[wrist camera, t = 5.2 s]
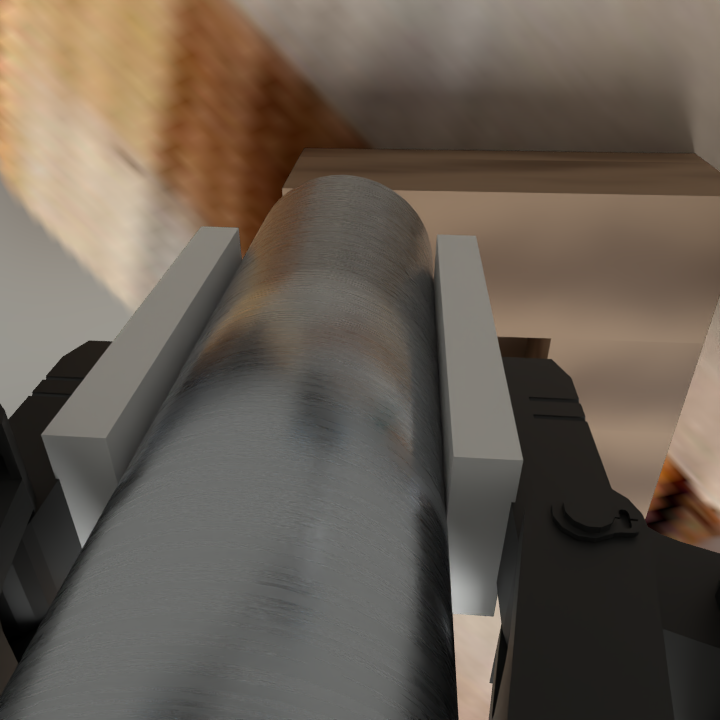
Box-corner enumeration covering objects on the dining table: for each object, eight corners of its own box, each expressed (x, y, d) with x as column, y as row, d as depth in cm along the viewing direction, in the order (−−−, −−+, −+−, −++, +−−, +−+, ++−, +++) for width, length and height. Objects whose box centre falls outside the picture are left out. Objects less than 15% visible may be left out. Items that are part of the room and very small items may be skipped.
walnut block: (304, 147, 31) (281, 188, 26) (695, 153, 29) (752, 196, 24) (319, 440, 40) (305, 510, 35) (613, 453, 39) (641, 528, 34)
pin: (250, 172, 14) (-214, 797, 4) (438, 177, 13) (508, 860, 3) (263, 334, 16) (-1, 1009, 6) (426, 341, 16) (448, 1057, 6)
